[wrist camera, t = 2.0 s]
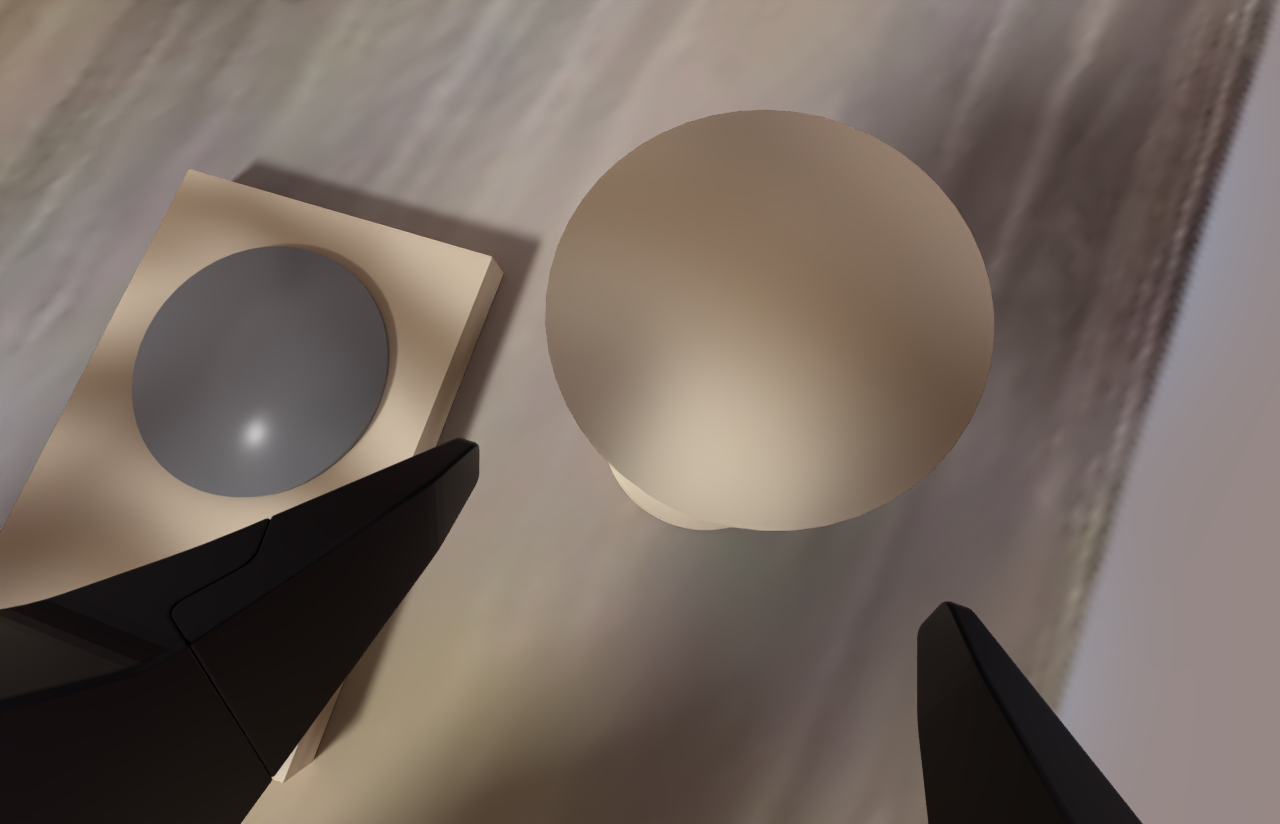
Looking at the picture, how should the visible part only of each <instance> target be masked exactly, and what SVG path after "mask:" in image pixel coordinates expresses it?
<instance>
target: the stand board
mask: <svg viewBox="0 0 1280 824" xmlns="http://www.w3.org/2000/svg"><path fill="white" fill-rule="evenodd" d="M503 274H504V273H503V272H502V270H501V269H500V267H499V266H498V264H497V263H496V261H495V260H494V258H493V257H492V256H488V255H485V254H481V253H478V252H474V251H471V250H468V249H464V248H461V247H457V246H454V245H450V244H447V243H443V242H440V241H436V240H433V239H429V238H426V237H423V236H419V235H416V234H412V233H409V232H405V231H402V230H398V229H395V228H391V227H388V226H384V225H381V224H378V223H374V222H371V221H367V220H364V219H360V218H357V217H353V216H350V215H346V214H343V213H339V212H336V211H333V210H329V209H326V208H322V207H319V206H315V205H312V204H308V203H305V202H301V201H298V200H294V199H291V198H287V197H284V196H281V195H277V194H274V193H270V192H267V191H263V190H260V189H256V188H253V187H249V186H246V185H242V184H239V183H236V182H232V181H229V180H225V179H222V178H218V177H215V176H211V175H208V174H204V173H201V172H197V171H194V170H191V169H189V170H188V172H187V174H186V176H185V178H184V180H183V182H182V184H181V186H180V188H179V190H178V192H177V194H176V195H175V197H174V199H173V201H172V203H171V205H170V207H169V209H168V211H167V213H166V215H165V217H164V219H163V220H162V222H161V224H160V226H159V228H158V230H157V232H156V234H155V236H154V238H153V240H152V242H151V244H150V245H149V247H148V249H147V251H146V253H145V255H144V257H143V259H142V261H141V263H140V265H139V267H138V269H137V270H136V272H135V274H134V276H133V278H132V280H131V282H130V284H129V286H128V288H127V290H126V292H125V294H124V295H123V297H122V299H121V301H120V303H119V305H118V307H117V309H116V311H115V313H114V315H113V317H112V319H111V320H110V322H109V324H108V326H107V328H106V330H105V332H104V334H103V336H102V338H101V340H100V342H99V344H98V345H97V347H96V349H95V351H94V353H93V355H92V357H91V359H90V361H89V363H88V365H87V367H86V369H85V370H84V372H83V374H82V376H81V378H80V380H79V382H78V384H77V386H76V388H75V390H74V392H73V393H72V395H71V397H70V399H69V401H68V403H67V405H66V407H65V409H64V411H63V413H62V415H61V417H60V418H59V420H58V422H57V424H56V426H55V428H54V430H53V432H52V434H51V436H50V438H49V440H48V442H47V443H46V445H45V447H44V449H43V451H42V453H41V455H40V457H39V459H38V461H37V463H36V465H35V467H34V468H33V470H32V472H31V474H30V476H29V478H28V480H27V482H26V484H25V486H24V488H23V490H22V492H21V493H20V495H19V497H18V499H17V501H16V503H15V505H14V507H13V509H12V511H11V513H10V515H9V517H8V518H7V520H6V522H5V524H4V526H3V528H2V530H1V532H0V609H3V608H9V607H14V606H19V605H24V604H28V603H32V602H36V601H40V600H44V599H47V598H50V597H54V596H57V595H60V594H63V593H66V592H69V591H72V590H75V589H78V588H80V587H83V586H86V585H89V584H92V583H95V582H98V581H100V580H103V579H106V578H109V577H112V576H115V575H118V574H121V573H123V572H126V571H129V570H132V569H135V568H138V567H141V566H144V565H146V564H149V563H152V562H155V561H158V560H161V559H164V558H166V557H169V556H172V555H175V554H177V553H180V552H183V551H186V550H188V549H191V548H194V547H196V546H199V545H202V544H205V543H207V542H210V541H212V540H215V539H217V538H220V537H222V536H225V535H227V534H230V533H232V532H235V531H237V530H240V529H242V528H245V527H247V526H249V525H252V524H254V523H256V522H259V521H261V520H263V519H266V518H269V519H271V517H272V516H273V515H276V514H278V513H280V512H283V511H285V510H287V509H290V508H292V507H294V506H297V505H299V504H302V503H304V502H306V501H309V500H311V499H313V498H316V497H318V496H320V495H323V494H325V493H328V492H330V491H332V490H335V489H337V488H339V487H342V486H344V485H346V484H349V483H351V482H353V481H356V480H358V479H361V478H363V477H365V476H368V475H370V474H372V473H375V472H377V471H379V470H382V469H384V468H387V467H389V466H391V465H394V464H396V463H398V462H401V461H403V460H405V459H408V458H410V457H412V456H415V455H417V454H420V453H422V452H424V451H427V450H429V449H431V448H434V447H436V445H437V442H438V440H439V437H440V435H441V432H442V430H443V427H444V425H445V422H446V419H447V417H448V414H449V412H450V409H451V407H452V404H453V402H454V399H455V396H456V394H457V391H458V389H459V386H460V384H461V381H462V379H463V376H464V374H465V371H466V368H467V366H468V363H469V361H470V358H471V356H472V353H473V351H474V348H475V345H476V343H477V340H478V338H479V335H480V333H481V330H482V328H483V325H484V322H485V320H486V317H487V315H488V312H489V310H490V307H491V305H492V302H493V299H494V297H495V294H496V292H497V289H498V287H499V284H500V282H501V279H502V276H503ZM343 683H344V681H343ZM343 683H342V684H341V686H340V687H339V688H338V690H337V691H336V692H335V694H334V695H333V697H332V698H331V699H330V701H329V702H328V703H327V705H326V706H325V708H324V709H323V710H322V712H321V713H320V714H319V716H318V717H317V719H316V720H315V721H314V723H313V724H312V726H311V727H310V728H309V730H308V731H307V732H306V734H305V735H304V737H303V738H302V739H301V741H300V742H299V743H298V745H297V746H296V748H295V749H294V750H293V752H292V753H291V754H290V756H289V757H288V759H287V760H286V761H285V763H284V764H283V765H282V767H281V768H280V770H279V771H278V772H277V774H276V775H275V776H274V777H272V779H274V780H276V781H279V782H281V783H284V782H285V781H287V780H288V779H289V778H291V777H292V776H293V775H295V774H296V773H298V772H299V771H300V770H302V769H303V768H304V767H306V766H307V765H309V764H310V763H311V762H313V759H314V757H315V754H316V752H317V749H318V747H319V744H320V741H321V739H322V736H323V734H324V731H325V729H326V726H327V724H328V721H329V718H330V716H331V713H332V711H333V708H334V706H335V703H336V701H337V698H338V695H339V693H340V690H341V688H342V685H343Z"/></svg>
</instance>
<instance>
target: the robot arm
mask: <svg viewBox="0 0 1280 824" xmlns="http://www.w3.org/2000/svg"><path fill="white" fill-rule="evenodd" d="M478 478H479V446H478V444H477V443H475V442H472V441H469V440H466V439H463V438H455V439H453V440H450V441H448V442H446V443H443V444H441V445H438V446H436V447H434V448H431V449H429V450H427V451H424V452H422V453H420V454H417V455H415V456H412V457H410V458H408V459H405V460H403V461H401V462H398V463H396V464H394V465H391V466H389V467H387V468H384V469H382V470H379V471H377V472H375V473H372V474H370V475H368V476H365V477H363V478H361V479H358V480H356V481H353V482H351V483H349V484H346V485H344V486H342V487H339V488H337V489H335V490H332V491H330V492H328V493H325V494H323V495H320V496H318V497H316V498H313V499H311V500H309V501H306V502H304V503H302V504H299V505H297V506H294V507H292V508H290V509H287V510H285V511H283V512H280V513H278V514H276V515H273V516H272V517H271V519H269V518H266V519H263V520H261V521H259V522H256V523H254V524H252V525H249V526H247V527H245V528H242V529H240V530H237V531H235V532H232V533H230V534H227V535H225V536H222V537H220V538H217V539H215V540H212V541H210V542H207V543H205V544H202V545H199V546H196V547H194V548H191V549H188V550H186V551H183V552H180V553H177V554H175V555H172V556H169V557H166V558H164V559H161V560H158V561H155V562H152V563H149V564H146V565H144V566H141V567H138V568H135V569H132V570H129V571H126V572H123V573H121V574H118V575H115V576H112V577H109V578H106V579H103V580H100V581H98V582H95V583H92V584H89V585H86V586H83V587H80V588H78V589H75V590H72V591H69V592H66V593H63V594H60V595H57V596H54V597H50V598H47V599H44V600H40V601H36V602H32V603H28V604H24V605H19V606H14V607H9V608H3V609H0V824H241V822H242V821H243V820H244V818H245V817H246V816H247V814H248V813H249V811H250V810H251V809H252V807H253V806H254V805H255V803H256V802H257V800H258V799H259V798H260V796H261V795H262V794H263V792H264V791H265V789H266V788H267V787H268V785H269V784H270V782H271V781H272V777H274V776H275V775H276V774H277V772H278V771H279V770H280V768H281V767H282V765H283V764H284V763H285V761H286V760H287V759H288V757H289V756H290V754H291V753H292V752H293V750H294V749H295V748H296V746H297V745H298V743H299V742H300V741H301V739H302V738H303V737H304V735H305V734H306V732H307V731H308V730H309V728H310V727H311V726H312V724H313V723H314V721H315V720H316V719H317V717H318V716H319V714H320V713H321V712H322V710H323V709H324V708H325V706H326V705H327V703H328V702H329V701H330V699H331V698H332V697H333V695H334V694H335V692H336V691H337V690H338V688H339V687H340V686H341V684H342V683H343V681H344V680H345V679H346V677H347V676H348V675H349V673H350V672H351V670H352V669H353V668H354V666H355V665H356V663H357V662H358V661H359V659H360V658H361V657H362V655H363V654H364V652H365V651H366V650H367V648H368V647H369V646H370V644H371V643H372V641H373V640H374V639H375V637H376V636H377V635H378V633H379V632H380V630H381V629H382V628H383V626H384V625H385V624H386V622H387V621H388V619H389V618H390V617H391V615H392V614H393V612H394V611H395V610H396V608H397V607H398V606H399V604H400V603H401V601H402V600H403V599H404V597H405V596H406V595H407V593H408V592H409V590H410V589H411V588H412V586H413V585H414V584H415V582H416V581H417V579H418V578H419V577H420V575H421V574H422V573H423V571H424V570H425V568H426V567H427V566H428V564H429V563H430V562H431V560H432V559H433V557H434V556H435V554H436V553H437V551H438V550H439V548H440V547H441V545H442V543H443V542H444V540H445V538H446V537H447V535H448V533H449V531H450V530H451V528H452V526H453V524H454V523H455V521H456V519H457V517H458V515H459V514H460V512H461V510H462V508H463V507H464V505H465V503H466V501H467V500H468V498H469V496H470V494H471V493H472V491H473V489H474V487H475V485H476V483H477V481H478ZM917 717H918V732H919V742H920V751H921V760H922V769H923V778H924V787H925V796H926V806H927V815H928V824H1142V822H1141V821H1140V820H1139V819H1138V817H1137V816H1136V815H1135V814H1134V812H1133V811H1132V810H1131V809H1130V807H1129V806H1128V805H1127V803H1126V802H1125V801H1124V800H1123V799H1122V797H1121V796H1120V795H1119V793H1118V792H1117V791H1116V790H1115V789H1114V787H1113V786H1112V785H1111V783H1110V782H1109V781H1108V780H1107V779H1106V777H1105V776H1104V775H1103V773H1102V772H1101V771H1100V770H1099V768H1098V767H1097V766H1096V765H1095V763H1094V762H1093V761H1092V760H1091V758H1090V757H1089V756H1088V755H1087V753H1086V752H1085V751H1084V750H1083V748H1082V747H1081V746H1080V745H1079V743H1078V742H1077V741H1076V740H1075V738H1074V737H1073V736H1072V735H1071V733H1070V732H1069V731H1068V730H1067V728H1066V727H1065V726H1064V725H1063V723H1062V722H1061V721H1060V719H1059V718H1058V717H1057V716H1056V714H1055V713H1054V712H1053V711H1052V709H1051V708H1050V707H1049V706H1048V704H1047V703H1046V702H1045V701H1044V699H1043V698H1042V697H1041V696H1040V694H1039V693H1038V692H1037V691H1036V689H1035V688H1034V687H1033V686H1032V684H1031V683H1030V682H1029V681H1028V679H1027V678H1026V677H1025V676H1024V674H1023V673H1022V672H1021V671H1020V669H1019V668H1018V667H1017V666H1016V664H1015V663H1014V662H1013V661H1012V659H1011V658H1010V657H1009V656H1008V654H1007V653H1006V652H1005V651H1004V649H1003V648H1002V647H1001V646H1000V644H999V643H998V642H997V640H996V639H995V638H994V637H993V635H992V634H991V633H990V632H989V630H988V629H987V628H986V627H985V625H984V624H983V623H982V622H981V620H980V619H979V618H978V617H977V615H976V614H975V613H974V612H973V611H972V610H971V609H969V608H967V607H965V606H962V605H959V604H956V603H953V602H949V601H946V602H943V603H941V604H940V605H939V606H938V607H937V608H936V609H935V610H934V612H933V613H932V614H931V615H930V616H929V617H928V618H927V619H926V620H925V621H924V622H923V623H922V625H921V626H920V628H919V631H918V636H917Z"/></svg>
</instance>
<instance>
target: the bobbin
mask: <svg viewBox="0 0 1280 824" xmlns="http://www.w3.org/2000/svg"><path fill="white" fill-rule="evenodd" d="M545 325H546V333H547V342H548V350H549V355H550V359H551V362H552V366H553V370H554V374H555V378H556V380H557V383H558V385H559V388H560V390H561V393H562V395H563V397H564V400H565V402H566V405H567V406H568V408H569V410H570V412H571V413H572V415H573V417H574V418H575V420H576V422H577V424H578V425H579V427H580V429H581V430H582V432H583V433H584V434H585V435H586V437H587V438H588V439H589V441H590V442H591V443H592V444H593V446H594V447H595V448H596V450H597V451H598V452H599V453H600V454H601V455H602V456H603V457H604V458H605V459H606V460H607V461H608V462H609V465H610V467H611V470H612V472H613V474H614V476H615V477H616V479H617V481H618V483H619V484H620V486H621V487H622V488H623V490H624V491H625V492H626V493H627V495H628V496H629V497H630V498H631V499H632V500H633V501H634V502H635V503H636V504H637V505H638V506H640V507H641V508H642V509H644V510H645V511H646V512H648V513H649V514H651V515H653V516H654V517H656V518H658V519H660V520H662V521H664V522H667V523H669V524H672V525H675V526H679V527H683V528H686V529H695V530H718V529H724V528H729V527H735V528H744V529H752V530H760V531H793V530H802V529H808V528H815V527H822V526H828V525H831V524H834V523H838V522H841V521H845V520H848V519H852V518H855V517H858V516H860V515H862V514H865V513H867V512H869V511H871V510H874V509H876V508H878V507H880V506H883V505H885V504H886V503H888V502H890V501H891V500H893V499H894V498H896V497H898V496H899V495H901V494H902V493H904V492H906V491H907V490H909V489H910V488H912V487H913V486H914V485H915V484H916V483H918V482H919V481H920V480H921V479H922V478H924V477H925V476H926V475H927V474H928V473H929V472H931V471H932V470H933V469H934V468H935V467H936V466H937V465H938V464H939V462H940V461H941V460H942V459H943V458H944V457H945V456H946V455H947V453H948V452H949V451H950V450H951V449H952V448H953V447H954V445H955V444H956V442H957V441H958V439H959V438H960V436H961V435H962V433H963V432H964V430H965V428H966V427H967V425H968V424H969V422H970V421H971V418H972V416H973V414H974V412H975V410H976V407H977V405H978V403H979V401H980V399H981V397H982V394H983V391H984V387H985V384H986V380H987V377H988V374H989V370H990V366H991V359H992V351H993V344H994V308H993V301H992V294H991V288H990V282H989V279H988V275H987V272H986V268H985V265H984V262H983V258H982V255H981V253H980V251H979V249H978V247H977V244H976V242H975V240H974V238H973V235H972V233H971V231H970V229H969V228H968V226H967V224H966V223H965V221H964V220H963V218H962V216H961V215H960V213H959V211H958V210H957V208H956V207H955V206H954V204H953V203H952V202H951V201H950V199H949V198H948V197H947V196H946V194H945V193H944V192H943V191H942V189H941V188H940V187H939V186H938V185H937V184H936V183H935V182H934V181H933V180H932V179H931V178H930V177H929V176H928V175H927V174H926V173H925V172H924V171H923V170H922V169H921V168H920V167H919V166H917V165H916V164H915V163H913V162H912V161H911V160H909V159H908V158H907V157H905V156H904V155H903V154H901V153H900V152H899V151H897V150H896V149H894V148H892V147H891V146H889V145H887V144H886V143H884V142H882V141H880V140H879V139H877V138H875V137H874V136H872V135H869V134H867V133H865V132H862V131H860V130H858V129H856V128H853V127H851V126H849V125H846V124H843V123H840V122H836V121H833V120H830V119H826V118H823V117H819V116H814V115H808V114H803V113H798V112H790V111H775V110H753V111H737V112H731V113H725V114H718V115H712V116H709V117H705V118H702V119H698V120H695V121H691V122H688V123H685V124H683V125H680V126H678V127H675V128H673V129H670V130H668V131H666V132H663V133H661V134H659V135H658V136H656V137H654V138H652V139H651V140H649V141H647V142H645V143H643V144H642V145H640V146H638V147H637V148H636V149H634V150H633V151H632V152H630V153H629V154H627V155H626V156H625V157H623V158H622V159H621V160H619V161H618V162H617V163H616V164H615V165H614V166H613V167H612V168H611V169H609V170H608V171H607V172H606V173H605V174H604V175H603V176H602V177H601V178H600V179H599V180H598V181H597V182H596V184H595V185H594V186H593V187H592V189H591V190H590V191H589V192H588V193H587V195H586V196H585V197H584V198H583V199H582V201H581V203H580V204H579V206H578V207H577V209H576V211H575V212H574V214H573V215H572V217H571V219H570V220H569V222H568V224H567V226H566V229H565V231H564V233H563V235H562V237H561V240H560V242H559V244H558V247H557V250H556V253H555V256H554V260H553V263H552V266H551V270H550V275H549V281H548V288H547V294H546V321H545Z"/></svg>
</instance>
